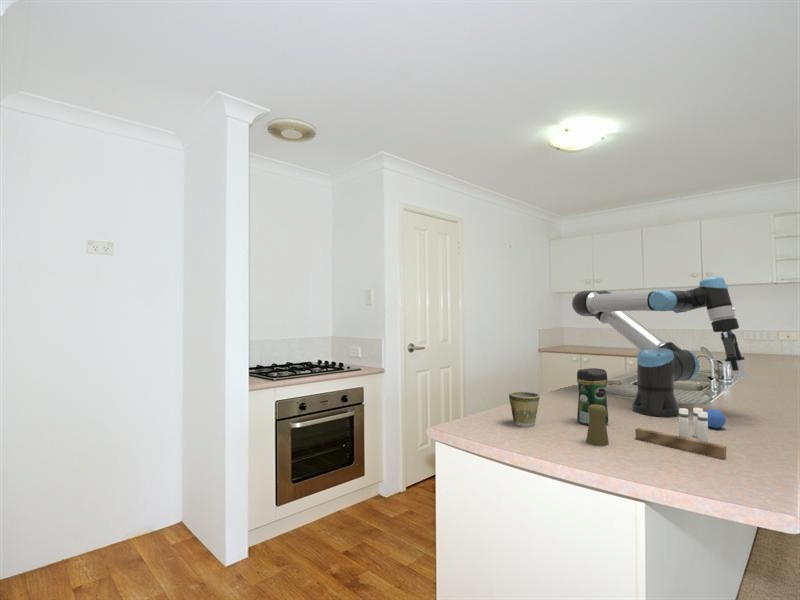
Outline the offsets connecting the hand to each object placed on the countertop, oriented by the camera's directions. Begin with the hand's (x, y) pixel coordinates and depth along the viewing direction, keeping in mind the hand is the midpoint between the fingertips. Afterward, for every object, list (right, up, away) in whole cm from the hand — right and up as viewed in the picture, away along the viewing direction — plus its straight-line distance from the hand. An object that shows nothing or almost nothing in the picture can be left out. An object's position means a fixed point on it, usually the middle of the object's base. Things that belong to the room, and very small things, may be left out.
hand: (741, 379), depth 150 cm
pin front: (-26, -14, -17) cm, 35 cm away
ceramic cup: (-75, -15, -2) cm, 76 cm away
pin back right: (-28, -14, -22) cm, 38 cm away
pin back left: (-31, -14, -18) cm, 39 cm away
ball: (-15, -11, -8) cm, 20 cm away
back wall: (-39, -14, -27) cm, 50 cm away
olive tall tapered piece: (-60, -14, -23) cm, 66 cm away
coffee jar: (-52, -15, -2) cm, 54 cm away
